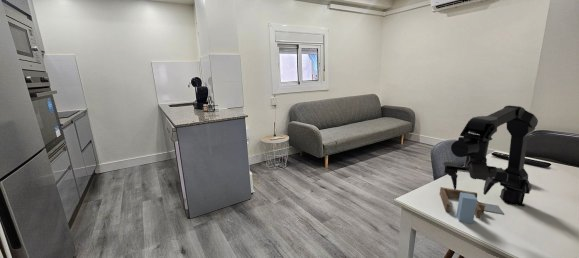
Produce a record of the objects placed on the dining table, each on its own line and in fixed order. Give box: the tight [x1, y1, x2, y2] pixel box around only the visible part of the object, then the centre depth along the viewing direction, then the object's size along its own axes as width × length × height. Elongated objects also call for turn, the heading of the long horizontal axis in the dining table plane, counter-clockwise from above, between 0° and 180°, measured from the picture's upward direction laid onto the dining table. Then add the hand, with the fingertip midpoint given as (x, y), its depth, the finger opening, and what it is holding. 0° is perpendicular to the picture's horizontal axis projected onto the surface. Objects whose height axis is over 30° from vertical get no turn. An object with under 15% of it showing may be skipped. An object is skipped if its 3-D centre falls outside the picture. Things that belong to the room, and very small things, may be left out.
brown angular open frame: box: [439, 187, 485, 219], centre depth 101 cm, size 14×16×4 cm
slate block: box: [455, 192, 478, 225], centre depth 91 cm, size 4×4×10 cm
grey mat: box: [478, 202, 505, 215], centre depth 99 cm, size 6×6×1 cm
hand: (469, 191), depth 90 cm, fingers open, 9 cm apart
